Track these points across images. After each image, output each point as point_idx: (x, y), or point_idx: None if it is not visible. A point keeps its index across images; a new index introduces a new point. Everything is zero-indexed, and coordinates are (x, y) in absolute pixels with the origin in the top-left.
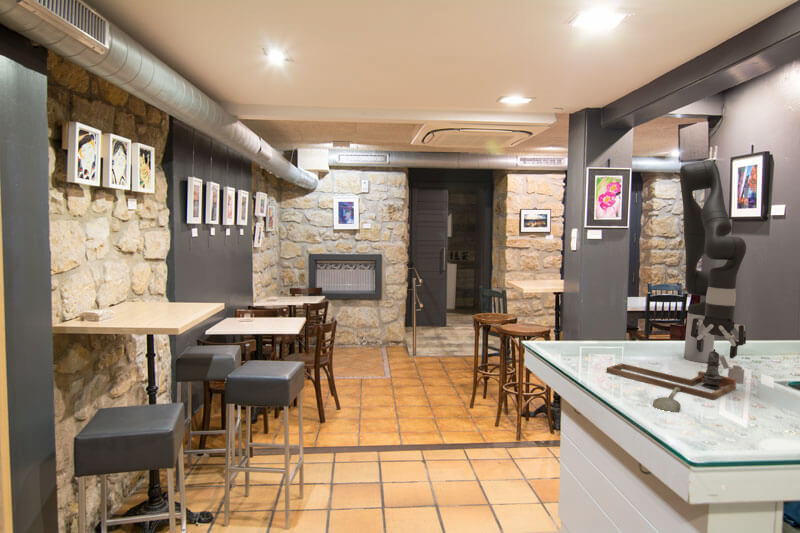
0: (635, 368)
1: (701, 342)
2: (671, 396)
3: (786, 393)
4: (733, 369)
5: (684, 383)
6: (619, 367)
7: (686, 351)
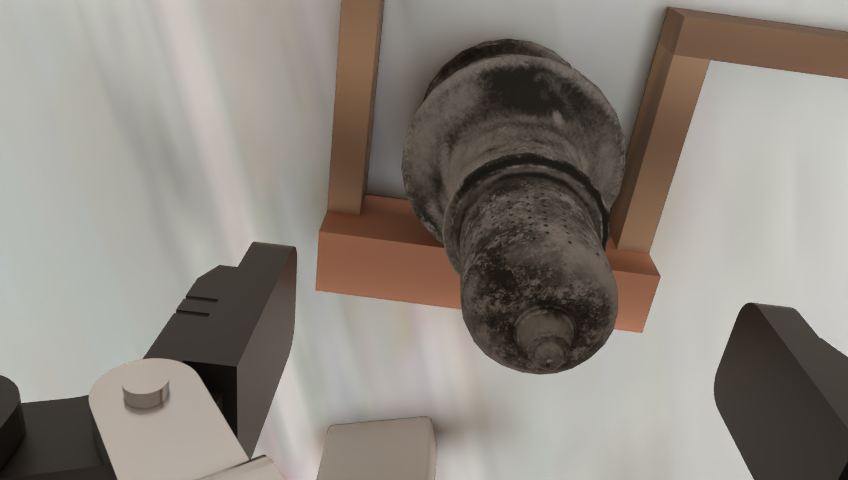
0: None
1: (833, 420)
2: None
3: (43, 393)
4: None
5: (747, 20)
6: None
7: None
